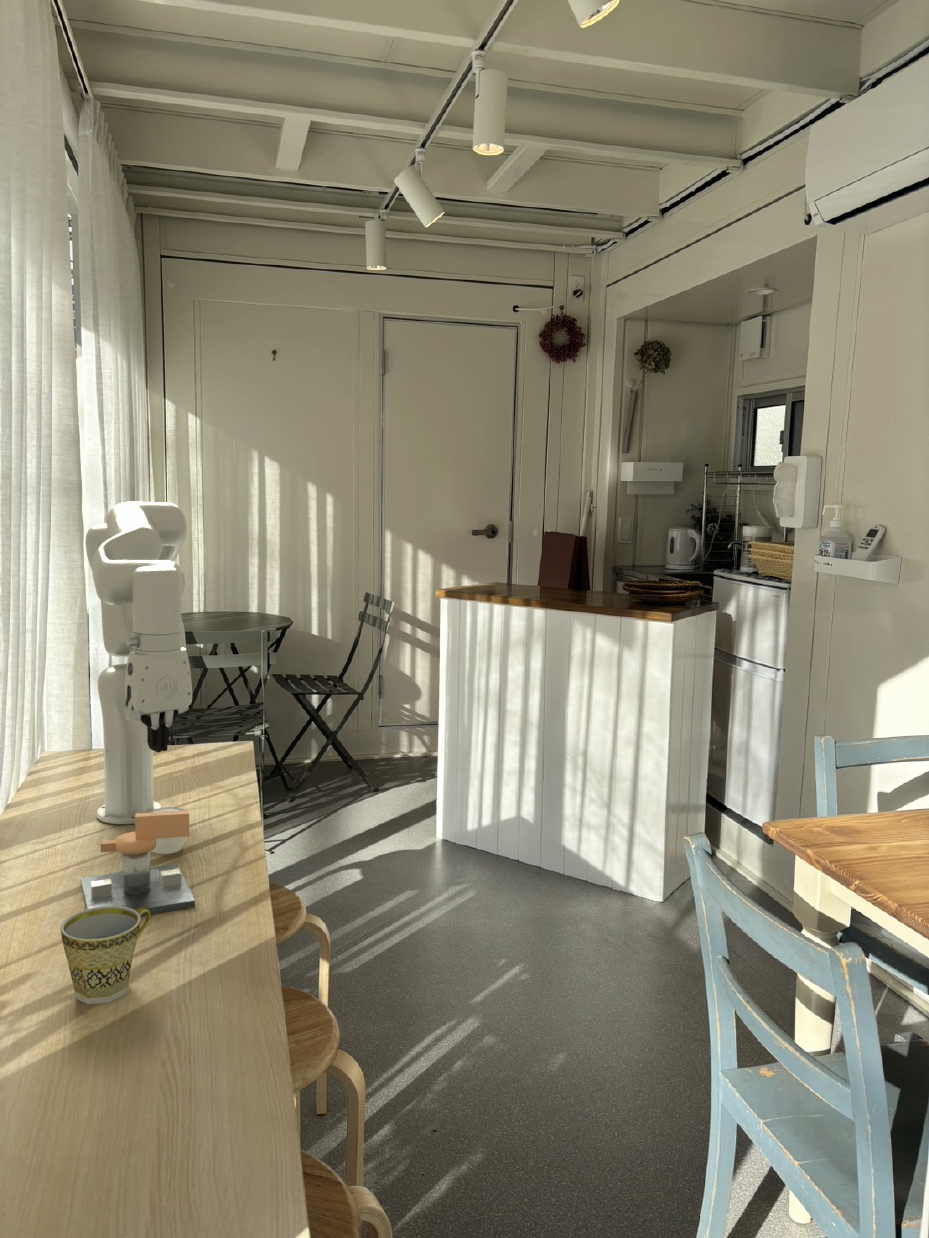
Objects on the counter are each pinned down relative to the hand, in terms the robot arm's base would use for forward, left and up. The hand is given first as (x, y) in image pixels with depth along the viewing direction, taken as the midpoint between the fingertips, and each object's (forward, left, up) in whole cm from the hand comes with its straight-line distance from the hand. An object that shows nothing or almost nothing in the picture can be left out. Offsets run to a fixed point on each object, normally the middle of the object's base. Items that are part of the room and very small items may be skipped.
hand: (158, 749), depth 155 cm
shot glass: (-17, +4, -25) cm, 30 cm away
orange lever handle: (+2, -2, -16) cm, 16 cm away
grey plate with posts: (+2, -4, -24) cm, 25 cm away
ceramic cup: (+30, -11, -25) cm, 40 cm away
